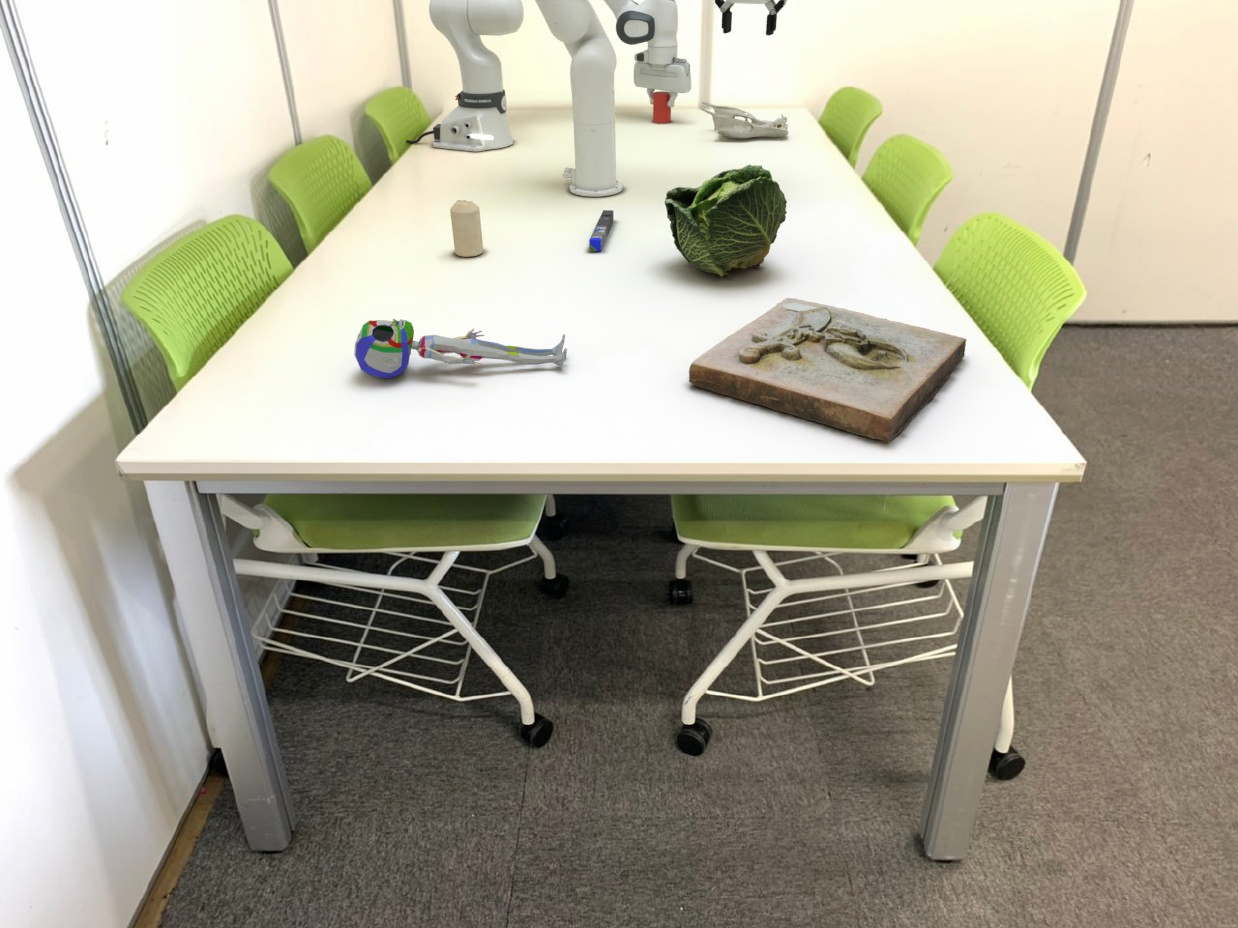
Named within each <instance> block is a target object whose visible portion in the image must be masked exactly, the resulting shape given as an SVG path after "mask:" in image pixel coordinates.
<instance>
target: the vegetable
mask: <svg viewBox="0 0 1238 928" xmlns="http://www.w3.org/2000/svg"><path fill="white" fill-rule="evenodd" d="M665 196H666V197H665V199H664V205H665V208H666V209H665V210H666V218H667V219H668V221H669V222H670V224H669V228H670V231H671V236H672V238H673V239H674V240H673V243H674V245H675V247H676V249H677V250H678V252H680V255H681V256H682V257H683V258H684V259H685V261H686V262H687V263H688V264H689V263H691V264H692V265H693V266H694V267H695V268H696V269H699V270H700V271H702V272H704V273H708V274H714V275H715V274H716V275H718V276H719V277H721V278H723V277H724V276H730V274H729V273H728V272H729V271H732V270H734V269H740V268H742V269H747V268H748V267H754V268H756V267H757V268H760V266H761V264H763V263H764V261H765V258H766V257H767V256H768V255H769V253H770V250H771V245H772V244H774V243H775V241H776V239H777V236H778V235H777V234H778V231H779V229H780V227H781V225H782V224H783V223H784V222H786V218H787V216H786V214H787V213H788V211H787V203H788V201H787V199H786V196H785V194H784V192H783V191H782V189H781V188H780V184H779V183H778V181H777V180H774V179H773V176H772V173H771V171H770V170H768V169H765V168H763V165H755V164H754V165H751V164H748V165H745V166H743V167H742V168H732V169H729V170H723V171H721V172H720V173H718V174H716V175H714V176H713V177H711V178H709V179H707V180H704V181H703V182H702V184H701V185H700V186H698V187H684V186H677V187H674V188H672V189H670V190H668V191H667V192H666V194H665Z"/></svg>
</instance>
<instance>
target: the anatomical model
mask: <svg viewBox="0 0 1238 928" xmlns="http://www.w3.org/2000/svg"><path fill="white" fill-rule="evenodd" d="M701 105H705V106H708V107H711V108H712V109H713V111H714V112H711V111H710V110H708V109H706V108H704V107H700V110H701V111H703V112H704V113H707V114H709V115H710V116H711V117H712V122H713V127H714V128H713V130H714V131H717V132H718V134H719V135H720V136H726V137H728V138H731V139H737V140H739V139H740V140H741V139H750V138H754V137H775V138H781V137H787V136H788V135H789V125H788V124H787V122H788V118H787V116H784V115H783V114H781V117H778V118H776V119H775V120H764V119H759V118H757V117H756V116H754V115H753V114H752V113H750V112H749V111H745V110H743V109H740V108H738V107H737V108H736V107H732V106H728V105H717V104H713V103H710V102H707V101H701ZM736 117H737V118H736ZM739 117H741V118H743V119H739ZM748 119H749V120H750V121H751V122H750V121H749V120H748Z"/></svg>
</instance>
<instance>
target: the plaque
mask: <svg viewBox="0 0 1238 928" xmlns="http://www.w3.org/2000/svg"><path fill="white" fill-rule="evenodd" d="M966 345H967V339H966V338H964V337H960V336H957V335H953V334H949V333H946V332H941V331H937V330H933V329H930V328H926V327H921V326H917V325H912V324H908V323H904V322H901V321H894V320H889V319H887V318H882V317H876V316H873V315H870V314H867V313H863V312H859V311H855V310H850V309H847V308H841V307H836V306H833V305H829V304H824V303H823V304H822V303H818V302H814V301H808V300H804V299H803V300H802V299H798V298H792V297H786V298H784V299H783V300H782V301H780V302H778V303H777V304H776V305H775V306H773V307H771V308H770V309H769V310H767V311H766V312H765V313H763V314H762V315H760V316H759V317H757V318H756V319H754V320H752V321H751V322H750V323H748V324H746V325H745V326H743V327H741V328H739V329H738V330H737V331H735V332H734V333H732V334H730V335H728V336H727V337H725V338H724V339H723V340H721V341H720V342H718V343H716V344H715V345H714V346H713V347H711V348H710V349H708V350H707V351H705V352H704V353H702V354H701V355H700V356H698V357H697V358H696V359H694V360H693V361H692V363H690V366H689V369H688V382H689V383H690V384H692V385H693V386H695V387H698V388H701V389H705V390H707V391H711V392H713V393H716V394H720V395H724V396H729V397H732V398H735V399H737V400H741V401H745V402H748V403H752V404H755V405H758V406H762V407H765V408H767V409H771V410H773V411H777V412H780V413H785V414H789V415H792V416H796V417H798V418H800V419H804V420H807V421H812V422H816V423H820V424H823V425H826V426H830V427H834V428H836V429H839V430H842V431H846V432H848V433H852V434H856V435H859V436H861V437H862V436H863V437H866V438H869V439H873V440H880V441H882V442H885V443H887V444H889V443H890V441H891V440H892V439H893V438H895V437H896V436H897V435H899V434H900V433H901V432H902V431H903V430H904V429H905V428H907V426H908V425H909V423H910V422H911V421H912V420H913V418H914V417H915V416H916V415H917V414H918V413H919V412H920V410H921V409H922V408H923V407H924V406H925V405H926V404H927V403H928V402H930V401H931V400H933V399H934V397H935V396H936V394H937V393H938V391H939V390H940V389H941V387H943V385H944V384H945V383H946V382H947V381H948V380H949V378H950V376H951V375H952V373H953V370H954V369H955V368H956V367H957V366H958V364H959V362H961V361H962V360H963V358H965V353H966V347H967V346H966Z"/></svg>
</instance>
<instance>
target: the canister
mask: <svg viewBox="0 0 1238 928" xmlns="http://www.w3.org/2000/svg"><path fill="white" fill-rule="evenodd" d="M670 98H671V95H670V92H669V91H663V90H658V91H654V93H653V105H652V122H653V123H654V124H669V123H671V122H672V108H671V107H667V101H669V100H670Z"/></svg>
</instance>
